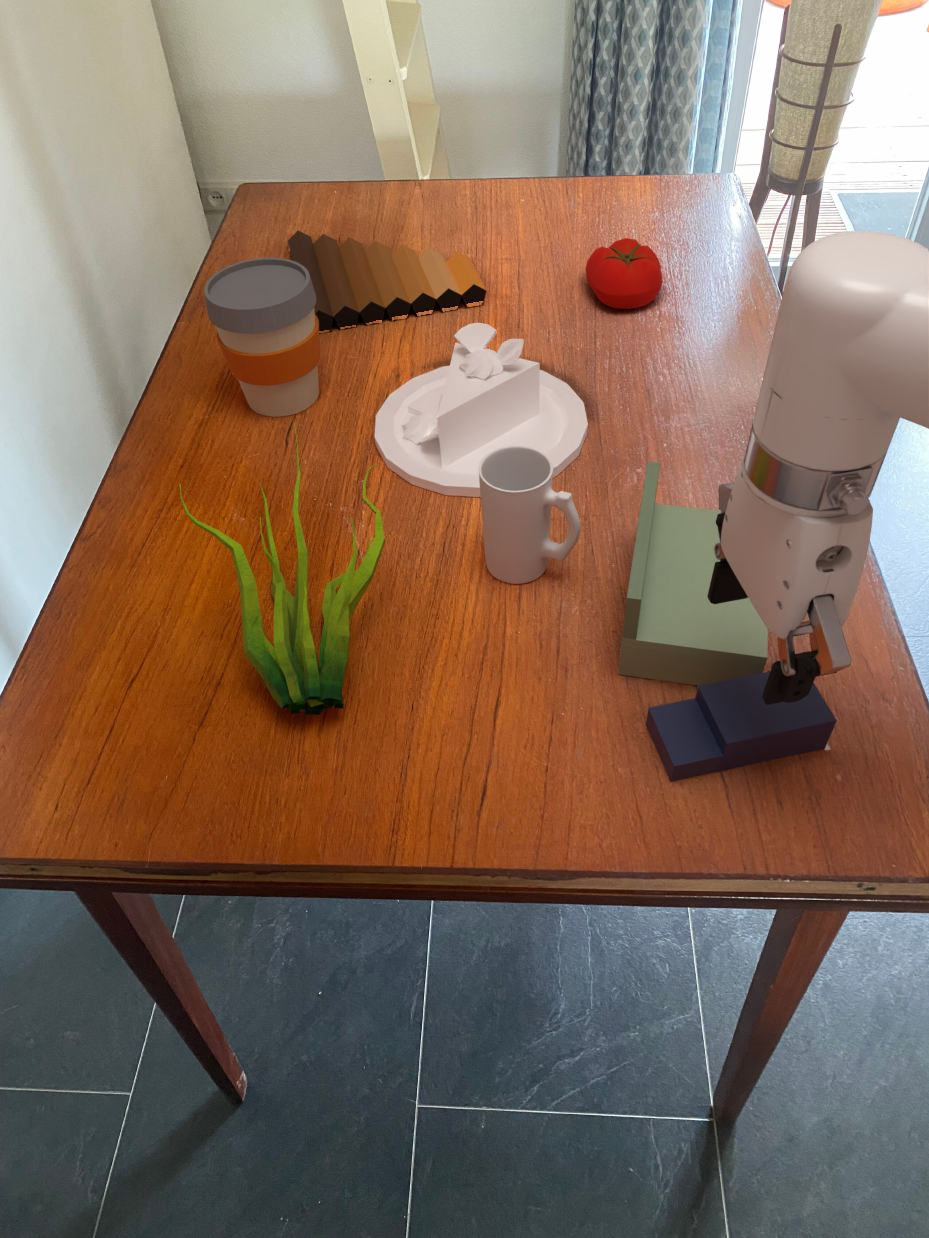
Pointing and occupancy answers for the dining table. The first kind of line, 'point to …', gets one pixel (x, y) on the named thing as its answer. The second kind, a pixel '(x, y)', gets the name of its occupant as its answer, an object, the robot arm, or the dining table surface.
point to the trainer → (736, 728)
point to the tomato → (624, 274)
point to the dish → (477, 415)
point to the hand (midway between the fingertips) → (754, 645)
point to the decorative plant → (301, 618)
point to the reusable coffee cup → (268, 332)
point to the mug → (522, 514)
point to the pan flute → (381, 279)
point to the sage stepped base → (683, 602)
